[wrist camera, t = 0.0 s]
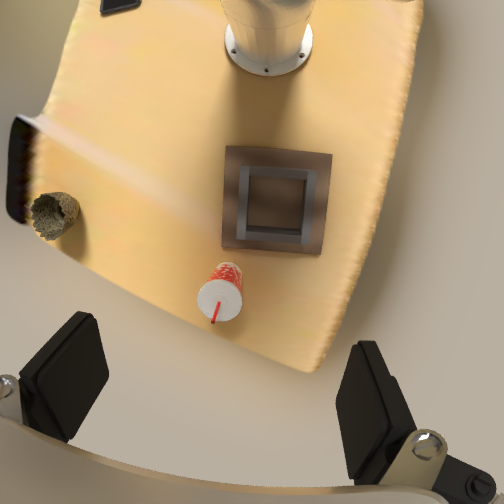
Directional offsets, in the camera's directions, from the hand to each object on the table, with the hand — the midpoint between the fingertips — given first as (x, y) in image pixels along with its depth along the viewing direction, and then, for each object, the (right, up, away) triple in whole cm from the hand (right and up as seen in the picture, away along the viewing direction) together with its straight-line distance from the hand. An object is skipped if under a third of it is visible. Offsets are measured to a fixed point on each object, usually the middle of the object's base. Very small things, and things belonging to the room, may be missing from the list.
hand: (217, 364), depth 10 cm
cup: (-30, +12, +37) cm, 49 cm away
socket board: (+5, +11, +35) cm, 37 cm away
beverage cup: (-3, 0, +39) cm, 39 cm away
